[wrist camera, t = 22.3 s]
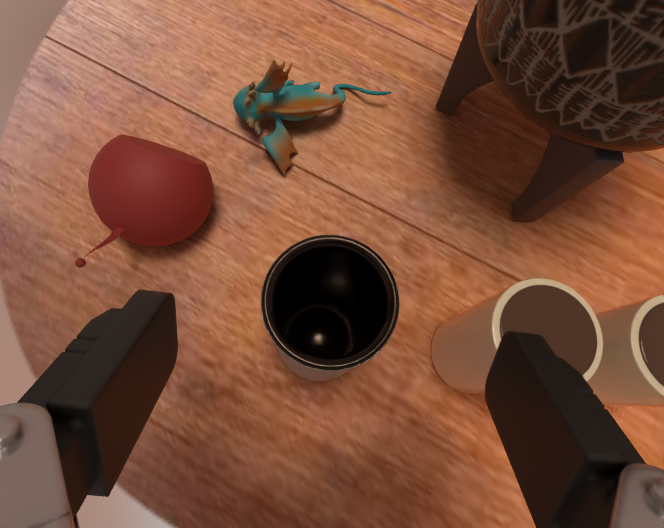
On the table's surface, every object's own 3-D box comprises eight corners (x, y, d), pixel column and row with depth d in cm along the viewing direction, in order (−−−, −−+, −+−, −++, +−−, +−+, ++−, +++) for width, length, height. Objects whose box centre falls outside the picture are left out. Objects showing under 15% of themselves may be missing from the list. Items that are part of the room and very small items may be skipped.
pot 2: (535, 407, 23) (651, 413, 16) (519, 327, 25) (619, 296, 17) (611, 401, 24) (760, 403, 16) (591, 322, 25) (721, 289, 17)
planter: (382, 165, 27) (521, -225, 10) (470, 32, 31) (680, -416, 14) (567, 272, 26) (1085, 33, 9) (636, 120, 29) (1092, -255, 12)
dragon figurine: (300, 21, 29) (209, 47, 24) (396, 35, 25) (315, 69, 20) (305, 117, 33) (229, 156, 28) (388, 140, 30) (319, 189, 25)
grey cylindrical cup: (263, 361, 23) (235, 336, 13) (297, 286, 24) (295, 213, 15) (340, 395, 23) (371, 395, 13) (370, 317, 24) (419, 264, 14)
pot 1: (436, 396, 23) (505, 397, 15) (425, 316, 24) (483, 280, 17) (514, 390, 24) (619, 388, 16) (499, 311, 25) (589, 274, 17)
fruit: (120, 224, 27) (12, 242, 19) (143, 135, 26) (37, 115, 18) (209, 259, 27) (137, 292, 19) (237, 171, 25) (171, 167, 18)
